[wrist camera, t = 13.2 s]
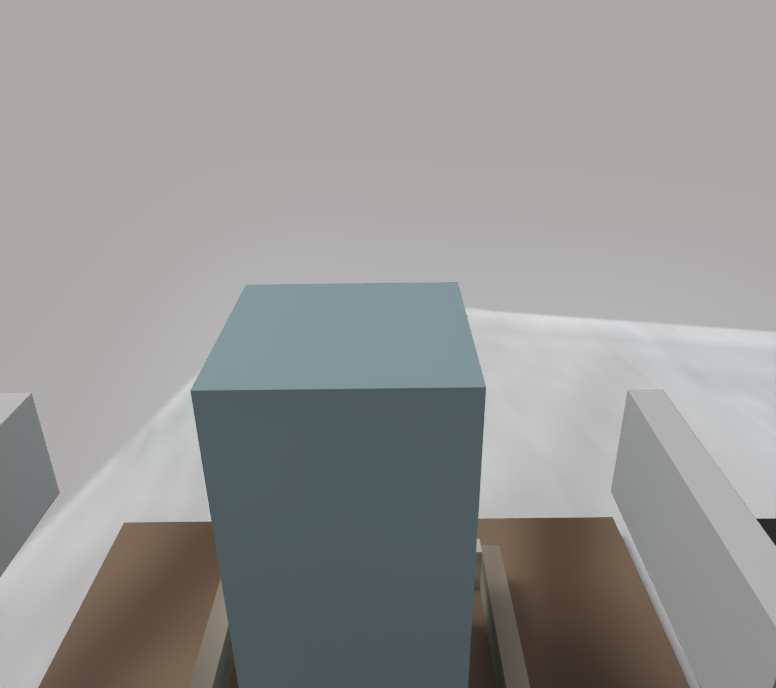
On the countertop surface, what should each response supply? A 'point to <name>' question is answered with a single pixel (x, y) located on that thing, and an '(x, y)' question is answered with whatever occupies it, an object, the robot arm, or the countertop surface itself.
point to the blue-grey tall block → (345, 483)
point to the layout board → (489, 617)
